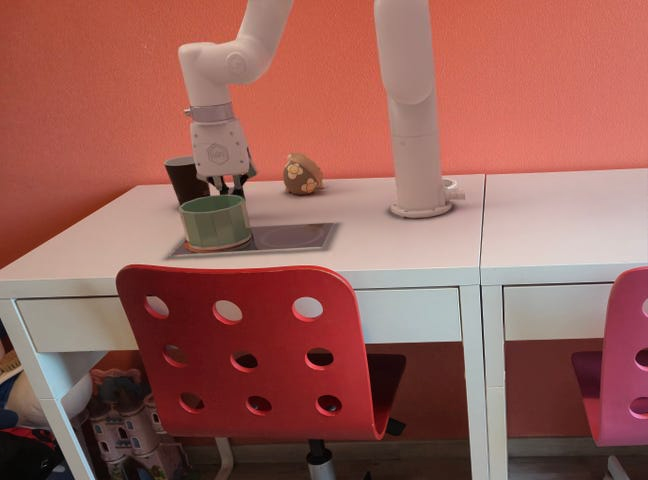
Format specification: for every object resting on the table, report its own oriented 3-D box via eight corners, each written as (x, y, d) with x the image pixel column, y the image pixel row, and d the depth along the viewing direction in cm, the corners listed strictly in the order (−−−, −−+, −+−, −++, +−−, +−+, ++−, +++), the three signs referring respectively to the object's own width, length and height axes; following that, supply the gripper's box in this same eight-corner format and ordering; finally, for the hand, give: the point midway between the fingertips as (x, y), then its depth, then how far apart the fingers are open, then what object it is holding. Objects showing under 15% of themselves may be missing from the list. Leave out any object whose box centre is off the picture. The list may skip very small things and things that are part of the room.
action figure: (340, 165, 168) (329, 180, 154) (311, 198, 171) (298, 215, 158) (307, 134, 165) (293, 146, 151) (278, 168, 168) (261, 183, 155)
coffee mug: (203, 212, 152) (192, 165, 147) (167, 211, 154) (155, 165, 149) (230, 196, 162) (220, 152, 157) (196, 196, 164) (186, 152, 159)
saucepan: (268, 214, 147) (261, 180, 144) (243, 248, 129) (234, 210, 126) (213, 217, 147) (205, 184, 143) (180, 252, 129) (170, 214, 126)
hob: (335, 224, 141) (335, 221, 140) (324, 249, 128) (323, 247, 128) (193, 232, 140) (193, 229, 140) (168, 258, 128) (167, 255, 128)
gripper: (165, 120, 131) (190, 215, 140) (249, 114, 132) (269, 210, 141) (178, 112, 138) (202, 204, 147) (259, 107, 138) (277, 199, 147)
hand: (235, 207), depth 144 cm, fingers closed on saucepan
